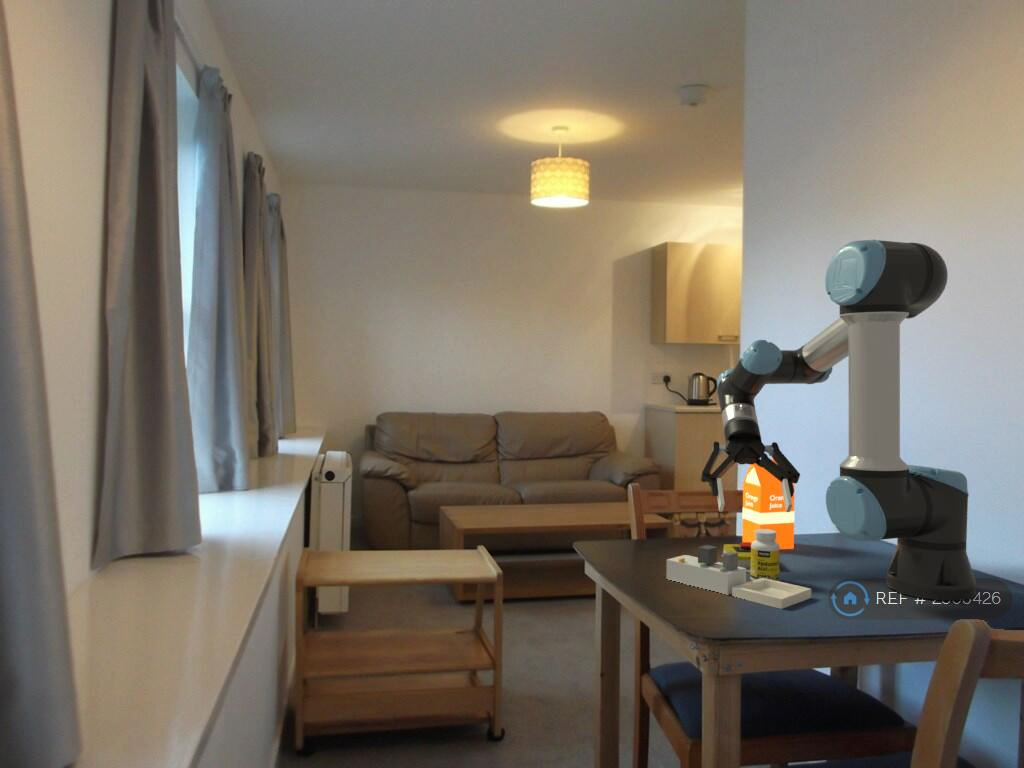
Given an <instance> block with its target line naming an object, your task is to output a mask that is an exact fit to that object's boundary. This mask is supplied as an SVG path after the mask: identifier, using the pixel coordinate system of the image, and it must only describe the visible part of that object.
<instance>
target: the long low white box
mask: <svg viewBox="0 0 1024 768" xmlns="http://www.w3.org/2000/svg"><path fill="white" fill-rule="evenodd" d="M722 554H723V553H722ZM666 579H668V580H667V581H669V580H672V581H671V582H673V581H676V582H675V583H677V582H680V583H679V584H681V583H683V584H682V585H685V584H686V586H689V585H691V586H690V587H693V586H695V587H694V588H697V587H699V588H698V589H701V588H703V589H702V590H705V589H707V590H706V591H709V590H711V591H710V592H712V591H715V592H714V593H716V592H719V593H718V594H720V593H722V595H724V594H726V595H725V596H730V595H732V587H735V586H738V585H741V584H744V583H747V572H746V568H743V567H738V553H736V552H728V553H724V554H723V557H722V562H720V561H717V563H714V564H710V565H706V563H698V556H693V555H689V554H688V555H687V554H683V555H679V556H674V557H672V558H668V559H666ZM729 594H730V595H729Z"/></svg>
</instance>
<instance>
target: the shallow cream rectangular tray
mask: <svg viewBox="0 0 1024 768" xmlns="http://www.w3.org/2000/svg"><path fill="white" fill-rule="evenodd" d="M732 596H734V597H733V598H736V597H737V599H740V598H741V599H740V600H744V599H745V600H744V601H749V602H752V603H756V604H761V605H764V606H768V607H772V608H776V609H781V610H782V609H785V608H788V607H791V606H794V605H796V604H799V603H802V602H805V601H806V600H810V599H812V588H809V587H806V586H800V585H796V584H793V583H789V582H782V581H780V580H779V581H775V580H771V579H766V578H760V579H757V580H754V581H752V580H751V581H746V583H744V584H741V585H738V586H735V587H732V594H731V597H732Z"/></svg>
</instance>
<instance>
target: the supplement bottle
mask: <svg viewBox="0 0 1024 768" xmlns="http://www.w3.org/2000/svg"><path fill="white" fill-rule="evenodd" d="M755 538H756V540H755V541H753V542H752V543H751V568H750V572H749V573H750V576H749V578H750V580H751V581H754V580H757V579H760V578H766V579H771V580H775V581H779V582H780V580H779V579H780V572H779V570H780V554H781V553H780V552H781V551H780V550H781V549H780V546H779V544H778V543H776V542H775V540H776V531H773V530H768V529H757V530H755Z"/></svg>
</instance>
